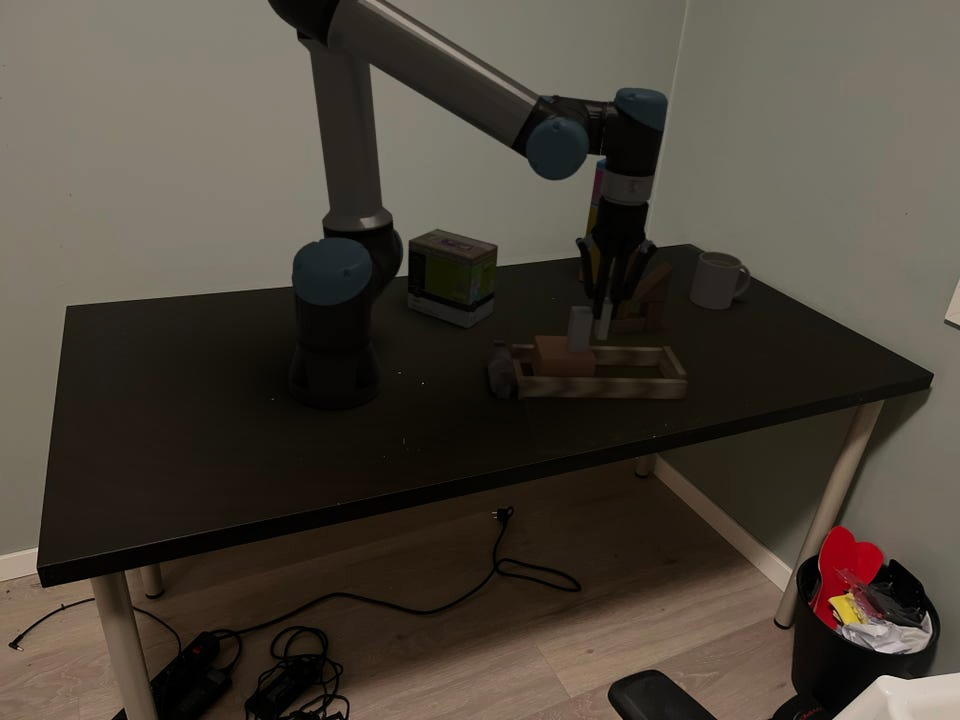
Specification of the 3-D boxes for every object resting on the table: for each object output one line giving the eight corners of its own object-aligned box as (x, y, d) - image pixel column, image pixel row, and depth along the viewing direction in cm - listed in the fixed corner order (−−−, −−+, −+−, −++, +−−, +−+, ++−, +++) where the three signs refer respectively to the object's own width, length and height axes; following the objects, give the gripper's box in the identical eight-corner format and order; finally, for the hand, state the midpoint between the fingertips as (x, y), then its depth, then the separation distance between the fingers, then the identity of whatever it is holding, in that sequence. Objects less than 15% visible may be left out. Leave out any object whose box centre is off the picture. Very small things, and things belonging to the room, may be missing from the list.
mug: (684, 302, 156) (694, 259, 151) (697, 288, 163) (707, 247, 158) (733, 316, 151) (745, 273, 146) (744, 301, 159) (756, 259, 154)
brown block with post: (538, 391, 118) (547, 321, 112) (531, 364, 126) (539, 297, 119) (591, 391, 119) (603, 323, 113) (580, 365, 127) (591, 299, 120)
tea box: (494, 313, 145) (500, 244, 138) (467, 330, 138) (471, 259, 130) (434, 292, 152) (437, 226, 144) (405, 308, 144) (406, 239, 137)
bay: (490, 400, 117) (492, 374, 114) (484, 363, 127) (486, 338, 125) (682, 403, 120) (689, 378, 117) (661, 366, 130) (667, 343, 128)
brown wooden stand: (659, 333, 142) (678, 248, 133) (610, 337, 139) (626, 251, 130) (650, 324, 145) (668, 241, 136) (602, 328, 142) (617, 243, 133)
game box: (599, 287, 160) (619, 166, 146) (577, 281, 162) (595, 161, 149) (631, 260, 176) (652, 149, 162) (610, 254, 178) (629, 144, 165)
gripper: (587, 204, 103) (566, 345, 115) (674, 208, 105) (644, 347, 117) (577, 188, 110) (558, 324, 122) (659, 192, 111) (632, 326, 123)
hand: (600, 335), depth 119 cm, fingers closed
